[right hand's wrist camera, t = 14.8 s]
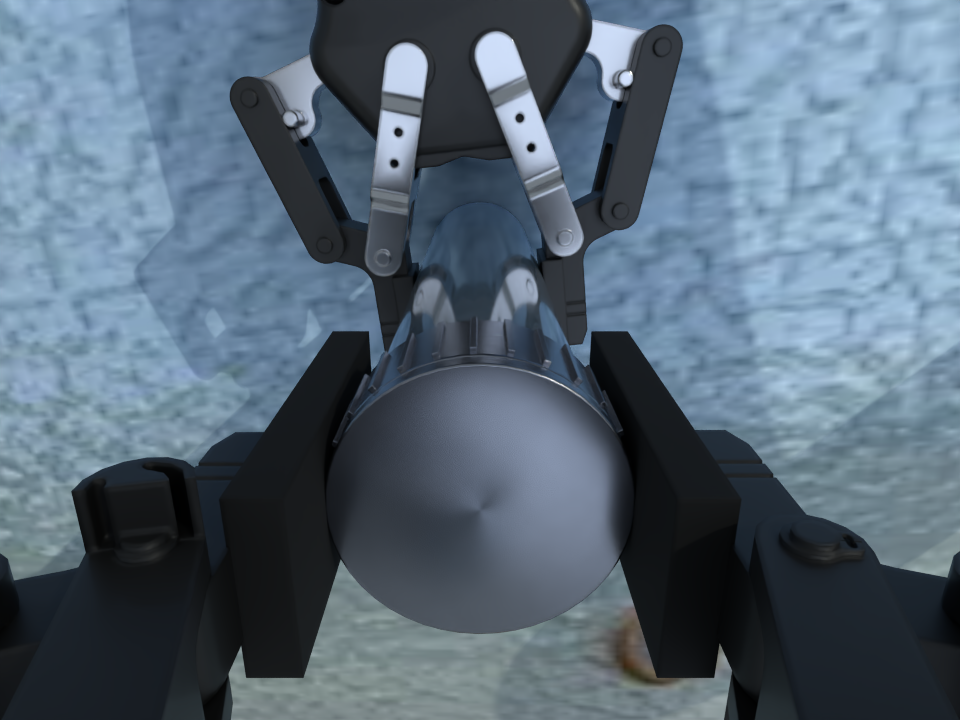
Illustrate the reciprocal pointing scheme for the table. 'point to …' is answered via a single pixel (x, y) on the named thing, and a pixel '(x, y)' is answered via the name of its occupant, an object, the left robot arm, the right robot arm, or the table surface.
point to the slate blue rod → (479, 276)
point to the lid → (480, 479)
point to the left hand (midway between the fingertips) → (487, 361)
